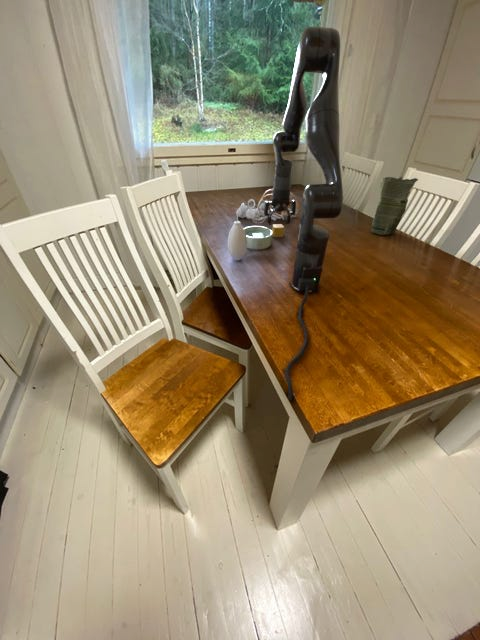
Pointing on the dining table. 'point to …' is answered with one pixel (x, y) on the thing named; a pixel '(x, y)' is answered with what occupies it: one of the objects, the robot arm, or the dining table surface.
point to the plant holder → (261, 208)
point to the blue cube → (257, 235)
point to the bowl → (260, 241)
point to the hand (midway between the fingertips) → (278, 223)
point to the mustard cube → (277, 230)
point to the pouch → (391, 204)
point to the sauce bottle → (237, 241)
